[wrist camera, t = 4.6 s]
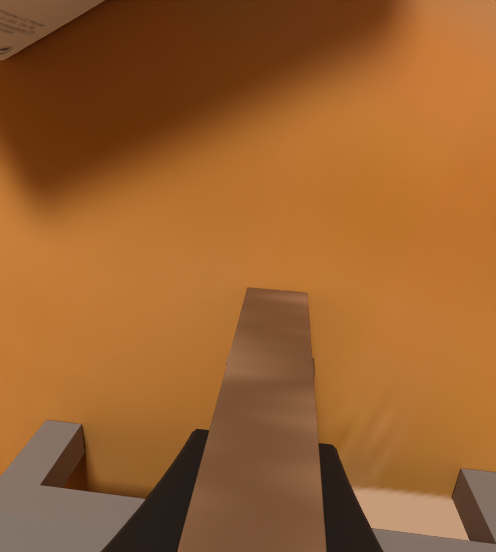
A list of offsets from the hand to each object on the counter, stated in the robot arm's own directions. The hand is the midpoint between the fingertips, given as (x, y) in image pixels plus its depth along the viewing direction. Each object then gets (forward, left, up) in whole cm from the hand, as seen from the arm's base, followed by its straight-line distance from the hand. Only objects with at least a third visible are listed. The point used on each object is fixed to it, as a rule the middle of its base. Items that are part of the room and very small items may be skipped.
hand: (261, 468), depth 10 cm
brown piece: (0, +4, -5) cm, 6 cm away
